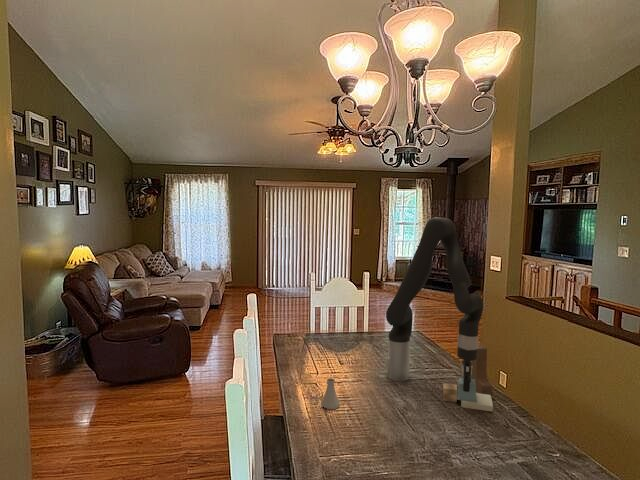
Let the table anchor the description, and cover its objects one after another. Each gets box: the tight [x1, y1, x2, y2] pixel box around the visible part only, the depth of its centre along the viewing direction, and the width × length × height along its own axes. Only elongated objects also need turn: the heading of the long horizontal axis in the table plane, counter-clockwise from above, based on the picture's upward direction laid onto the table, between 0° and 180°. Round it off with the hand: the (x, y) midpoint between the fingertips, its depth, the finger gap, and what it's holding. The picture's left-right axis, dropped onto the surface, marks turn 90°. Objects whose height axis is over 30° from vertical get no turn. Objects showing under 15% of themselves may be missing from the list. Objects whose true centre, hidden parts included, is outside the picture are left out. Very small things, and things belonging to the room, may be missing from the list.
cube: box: [457, 377, 477, 401], centre depth 154 cm, size 6×6×6 cm
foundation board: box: [457, 391, 494, 413], centre depth 153 cm, size 13×10×2 cm
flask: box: [321, 377, 341, 410], centre depth 150 cm, size 7×7×10 cm
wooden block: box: [471, 344, 493, 396], centre depth 163 cm, size 9×4×18 cm, turn 8°
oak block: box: [442, 382, 458, 403], centre depth 157 cm, size 5×5×5 cm
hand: (466, 386), depth 154 cm, fingers open, 8 cm apart
